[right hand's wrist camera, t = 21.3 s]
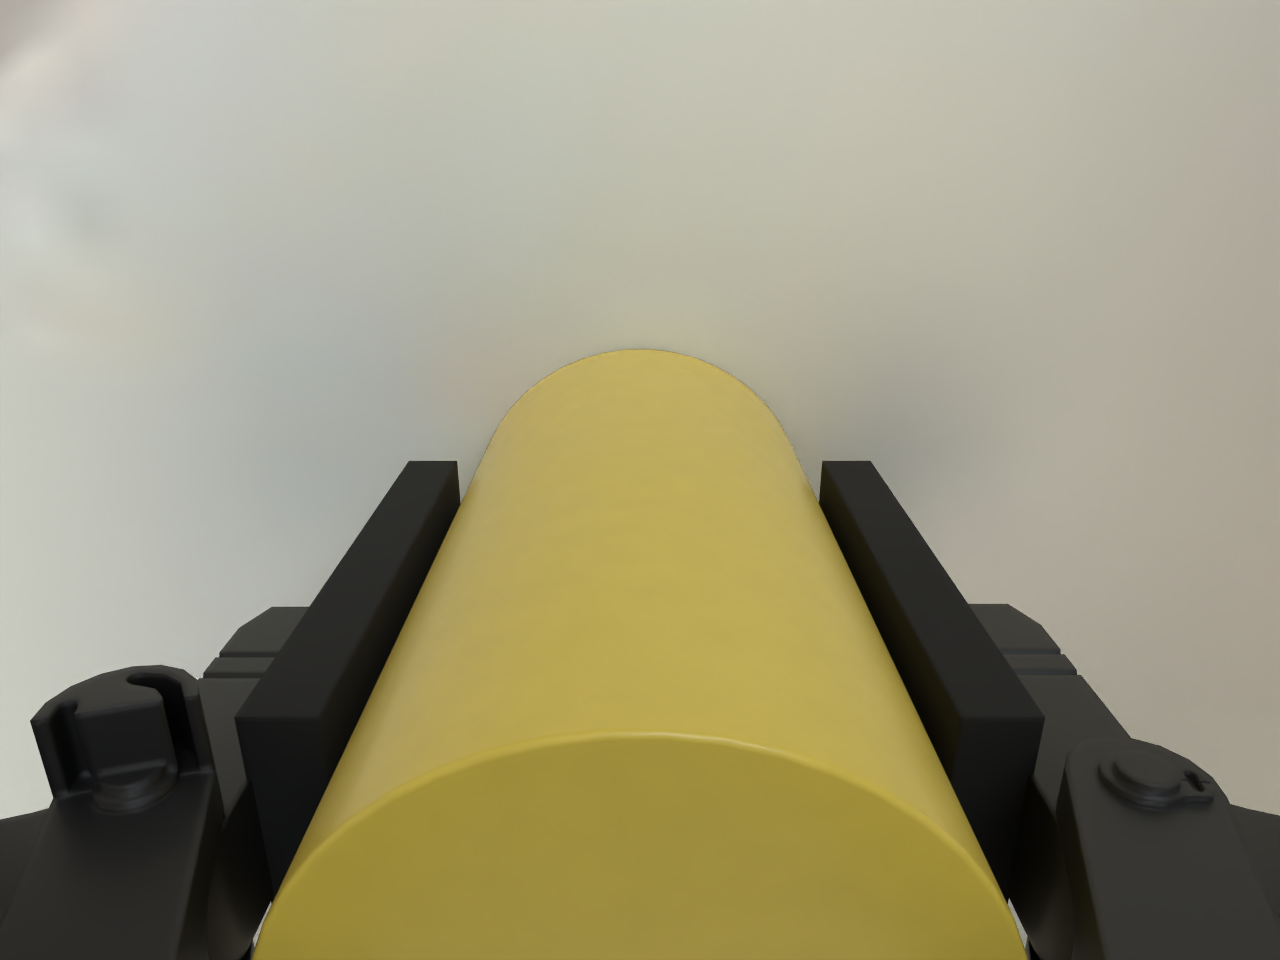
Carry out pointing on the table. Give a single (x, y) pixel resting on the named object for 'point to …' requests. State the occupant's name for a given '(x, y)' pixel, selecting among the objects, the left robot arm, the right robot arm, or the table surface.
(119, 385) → the table surface
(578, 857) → the cylinder
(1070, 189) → the table surface
